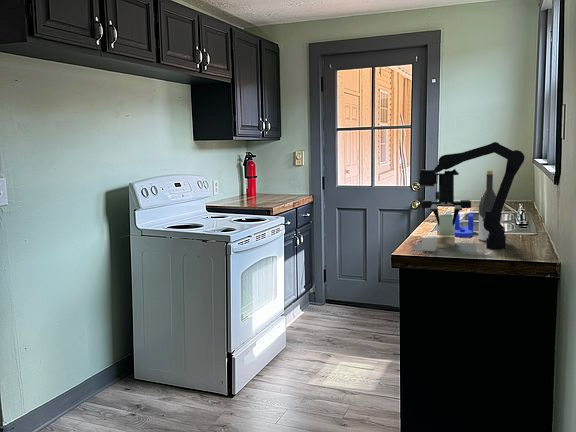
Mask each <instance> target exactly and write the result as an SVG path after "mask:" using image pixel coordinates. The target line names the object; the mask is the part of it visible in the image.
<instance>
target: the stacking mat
mask: <svg viewBox="0 0 576 432" xmlns="http://www.w3.org/2000/svg"><path fill="white" fill-rule="evenodd" d="M437 235H455V224H454V226H453V229H439V226H438V223H436V236H437ZM413 251H414V252H423V251H422V241H417V242H416V245H415V247H414V250H413ZM425 252H428V253H429V252H430V253H435V252H436V253H459V254H460V253H464V254H465V253H466V254H467V253H468V254H470V253H471V254H477V253H478V250H477V245H476V243H475V242H455V248H443V247H436V251H425Z"/></svg>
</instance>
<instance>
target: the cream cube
mask: <svg viewBox="0 0 576 432" xmlns="http://www.w3.org/2000/svg"><path fill="white" fill-rule="evenodd" d="M436 237H437V235H423V236H422V239H421V242H422V251H421V252H426V251H436Z"/></svg>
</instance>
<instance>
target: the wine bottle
mask: <svg viewBox="0 0 576 432" xmlns="http://www.w3.org/2000/svg"><path fill="white" fill-rule="evenodd" d="M493 180H494V174H493V170H487V171H486V183H485V185H486V189H485V191H484V193H483V194H482V197H481V198H480V201H479V205H478V241H480V242H484V243H486V238H488V234H489V231H487V230H486V229H485V228H484V225H483V224H484V221H482V220H483V218H484V217H485V214H486V209H487V210H489V211H490V210H491V208H492V206H493V204H494V201H495V199H496V196H497V194H496V193H495V191H494V189H493V188H494V181H493Z"/></svg>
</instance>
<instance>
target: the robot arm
mask: <svg viewBox="0 0 576 432" xmlns="http://www.w3.org/2000/svg"><path fill="white" fill-rule="evenodd" d="M490 154H497V155H498V156H500V157H501V158H504V159H505V160H506V159H507V160H506V165H505V172H504V175H503V177H502V181H501V183H500V186H499V189H498V191H497V193H496V199H495V201H494V204H493V206H492V208H491V210H490V211H489V210H487V209H486V214H485V217H484V218H483V220H482V221H484V224H483V225H484V228H485V229H486V230H487V231H489V234H488V238H486V242H485V248H486V250H487V249H489V250H498V251H499V250H506V247H507V246H506V245H507V243H506V242H507V241H506V240H507V235H506V234H505V233H506V227H504V225H502V223H501V218H502V212H503V208H504V206H505V202H506V200H507V197H508V195H509V192H510V191H511V187H512V184H513V181H514V180H515V176H516V175H517V174H518V172H519V170H520V168H521V167H522V165H523V164H524V161H525V155H524V153H523V152H522V151H521V150H517V149H513V150H512V149H510V148H508V147H507V146H505V145H502V144H501V143H499V142H496V141H494V142H491V143H488V144H486V145H483V146H479V147H477V148H476V147H475V148H472V149H469V150H467V151H466V150H465V151H463V152H456V153H448V154H444V155H441V156H440V157H439V158H438V162H437V165H436V167H434V169H420V170H419V177H418V184H419V185H418V186H419V187H420V188H421V187H429V188H430V187H435V185H437V184H438V191H435V197H434V198H435V201H433V200H432V199H423V200H422V201H421V209H429V211H432V212H433V214H434V216H435V219H436V222H437V223H436V224H438V226H439V215H440V213H439V207H454V209H453V226H454V223H455V220H456V217H457V215H458V214H460V211H461V212H462V211H463V209H471V208H472V201H471V200H470V199H460V201H455V191H454V190H455V187H454V186H455V176H459V175H460V172H458V171H457V170H456V168H453V167H455V166H458V165H460V164H461V163H464V162H467V161H470V160H474V159H477V158H480V157H484V156H488V155H490ZM452 168H453V170H449V169H452ZM443 170H445V171H444V173H441V172H442V171H443Z"/></svg>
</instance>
